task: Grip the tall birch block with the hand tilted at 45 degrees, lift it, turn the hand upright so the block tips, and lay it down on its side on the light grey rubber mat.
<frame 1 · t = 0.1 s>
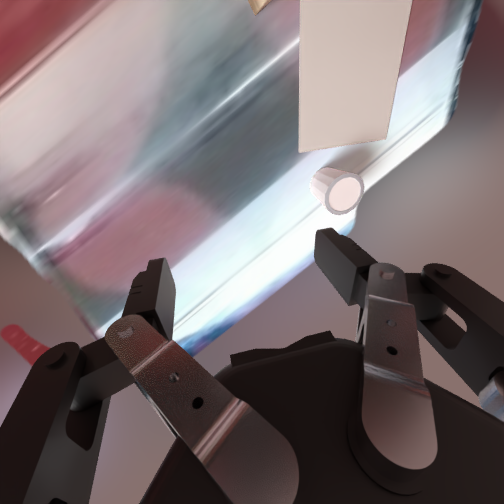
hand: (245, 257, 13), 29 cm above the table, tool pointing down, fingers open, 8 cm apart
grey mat: (351, 64, 34), on the table
beige tapered cup: (323, 182, 43), on the table
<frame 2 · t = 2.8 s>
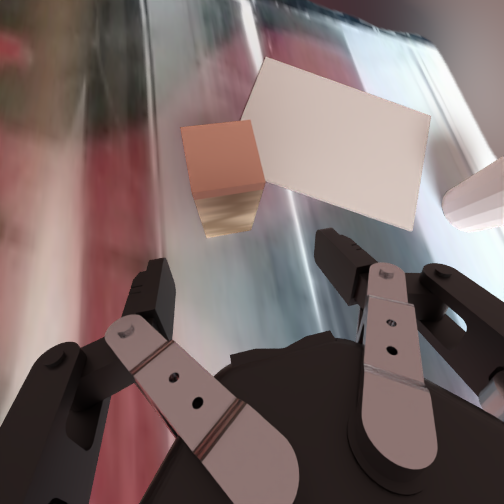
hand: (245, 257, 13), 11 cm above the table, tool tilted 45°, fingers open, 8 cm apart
birch block: (224, 213, 25), on the table
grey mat: (333, 140, 28), on the table
beige tapered cup: (462, 210, 28), on the table
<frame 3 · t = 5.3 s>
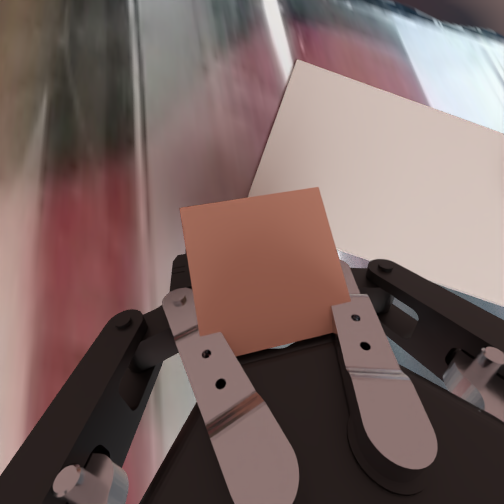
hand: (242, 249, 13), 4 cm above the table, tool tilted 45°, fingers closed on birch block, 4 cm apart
birch block: (244, 287, 17), on the table, touching gripper
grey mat: (393, 175, 20), on the table
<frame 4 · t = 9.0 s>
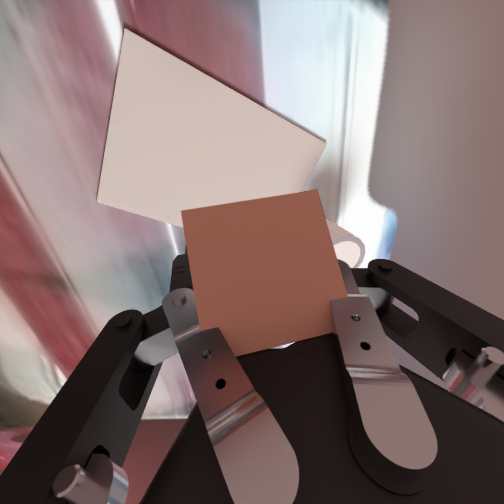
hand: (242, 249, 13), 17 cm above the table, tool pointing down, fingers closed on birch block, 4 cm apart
birch block: (244, 288, 17), point 16 cm above the table, tilted 45°, touching gripper
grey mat: (215, 171, 27), on the table
beige tapered cup: (315, 233, 35), on the table
when the fingers open (5 cm above the table, at t = 12.2 s): birch block drops 1 cm and tips over, resting on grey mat.
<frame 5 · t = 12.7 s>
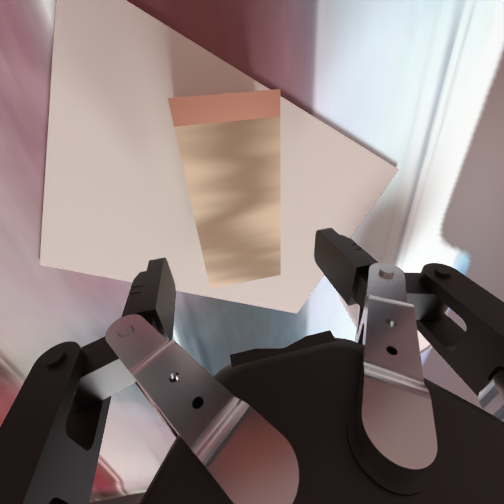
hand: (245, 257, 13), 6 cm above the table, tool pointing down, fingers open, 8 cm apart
birch block: (239, 261, 17), point 3 cm above the table, tilted 90°, touching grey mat
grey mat: (229, 212, 18), on the table
beige tapered cup: (362, 286, 26), on the table
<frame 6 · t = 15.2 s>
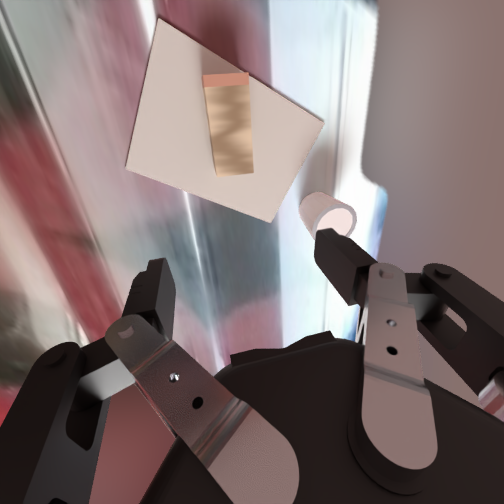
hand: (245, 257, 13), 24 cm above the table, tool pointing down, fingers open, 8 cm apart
birch block: (233, 170, 31), point 3 cm above the table, tilted 90°, touching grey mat
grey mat: (227, 145, 32), on the table
beige tapered cup: (313, 207, 40), on the table
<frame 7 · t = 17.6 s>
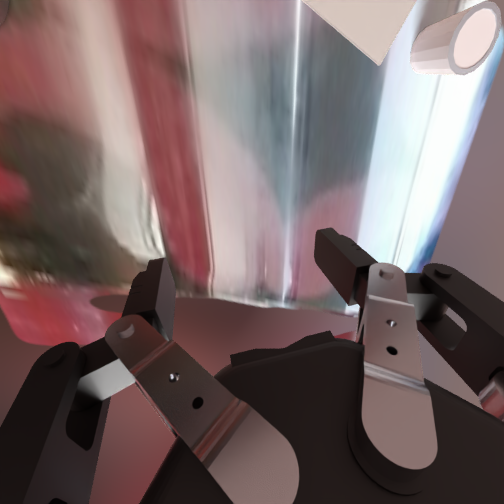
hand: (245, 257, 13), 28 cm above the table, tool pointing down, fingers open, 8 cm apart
beige tapered cup: (426, 50, 35), on the table
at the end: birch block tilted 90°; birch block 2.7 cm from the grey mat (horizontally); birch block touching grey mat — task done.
